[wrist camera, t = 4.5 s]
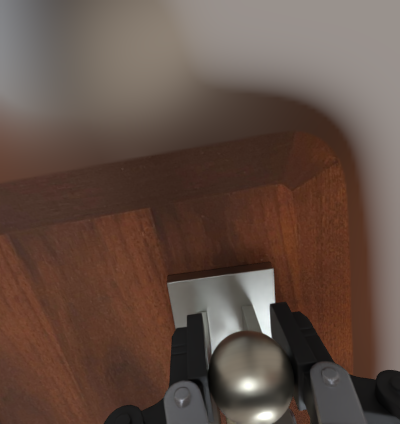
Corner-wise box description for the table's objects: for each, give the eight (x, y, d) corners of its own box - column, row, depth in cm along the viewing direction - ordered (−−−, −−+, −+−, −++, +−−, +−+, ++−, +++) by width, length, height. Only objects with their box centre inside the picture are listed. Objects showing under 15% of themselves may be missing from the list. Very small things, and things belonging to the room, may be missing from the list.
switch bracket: (167, 275, 26) (154, 401, 15) (270, 261, 26) (334, 376, 15) (185, 371, 29) (185, 530, 18) (275, 358, 29) (330, 510, 18)
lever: (200, 321, 11) (210, 423, 9) (283, 310, 11) (315, 408, 9) (217, 408, 20) (224, 469, 18) (263, 401, 20) (277, 462, 18)
